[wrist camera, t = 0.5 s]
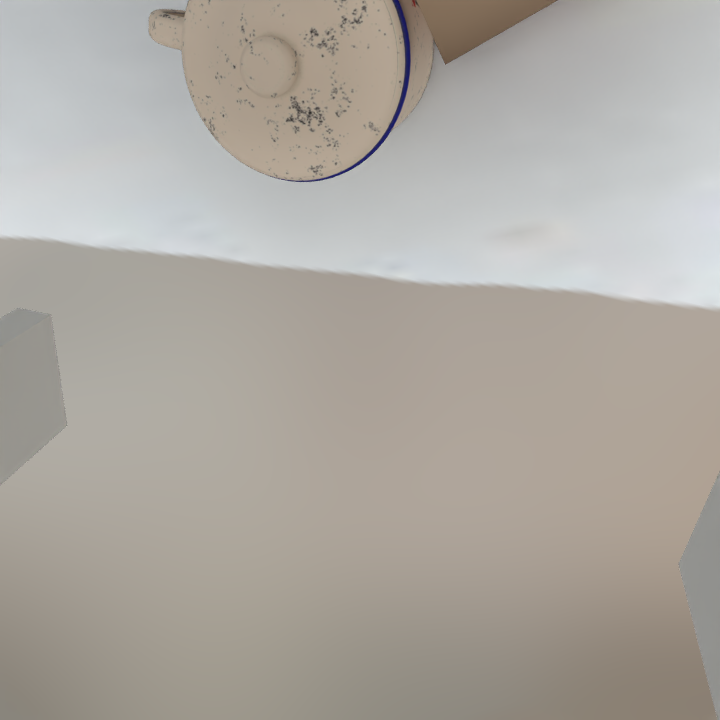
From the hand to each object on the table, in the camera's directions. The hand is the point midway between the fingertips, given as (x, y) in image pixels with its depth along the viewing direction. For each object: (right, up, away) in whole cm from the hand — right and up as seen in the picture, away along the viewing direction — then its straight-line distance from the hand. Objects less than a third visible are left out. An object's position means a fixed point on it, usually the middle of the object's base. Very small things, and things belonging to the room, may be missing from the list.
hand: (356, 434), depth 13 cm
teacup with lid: (-2, +17, +20) cm, 27 cm away
